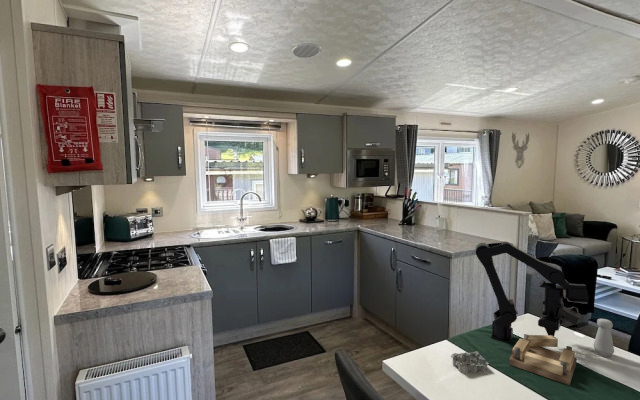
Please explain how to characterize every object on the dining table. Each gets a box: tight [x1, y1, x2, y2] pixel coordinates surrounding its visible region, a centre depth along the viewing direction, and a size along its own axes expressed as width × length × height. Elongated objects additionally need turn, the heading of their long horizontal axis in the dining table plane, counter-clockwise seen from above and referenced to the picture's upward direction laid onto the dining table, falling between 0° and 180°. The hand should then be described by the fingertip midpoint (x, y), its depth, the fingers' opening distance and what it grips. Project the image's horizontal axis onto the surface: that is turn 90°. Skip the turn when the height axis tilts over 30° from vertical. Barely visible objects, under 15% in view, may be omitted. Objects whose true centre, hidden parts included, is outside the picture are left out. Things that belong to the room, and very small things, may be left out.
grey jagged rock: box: [450, 350, 490, 374], centre depth 113 cm, size 11×8×4 cm
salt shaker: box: [593, 318, 615, 358], centre depth 120 cm, size 6×6×13 cm
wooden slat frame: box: [508, 338, 578, 386], centre depth 115 cm, size 17×17×6 cm
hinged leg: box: [523, 333, 559, 348], centre depth 123 cm, size 11×3×4 cm, turn 86°
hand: (551, 338), depth 126 cm, fingers closed
